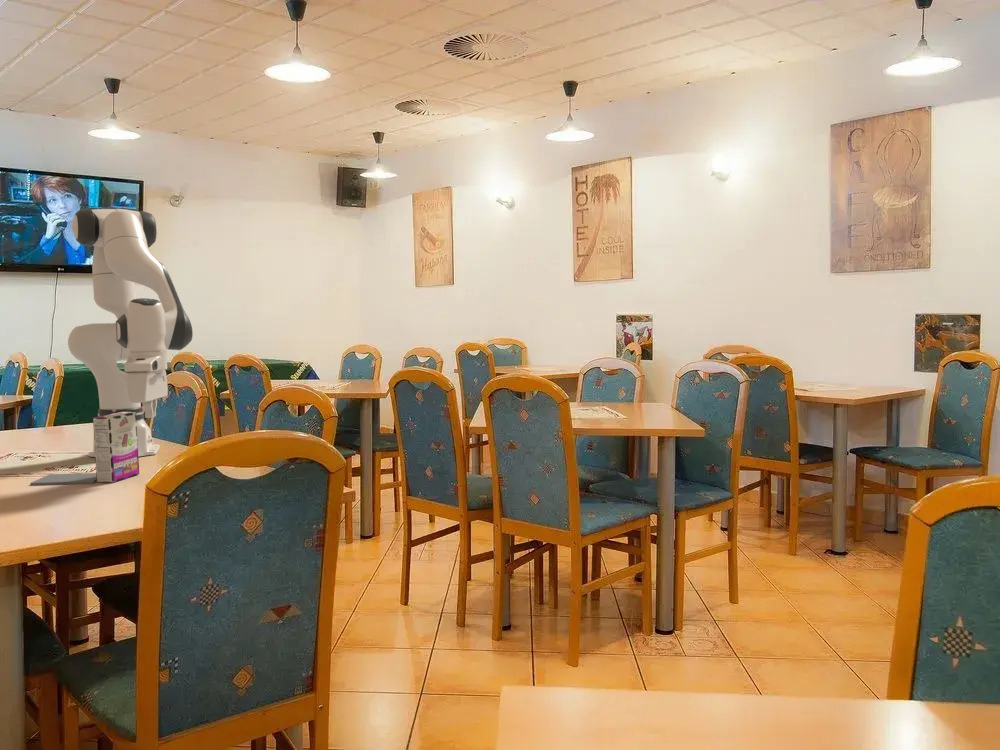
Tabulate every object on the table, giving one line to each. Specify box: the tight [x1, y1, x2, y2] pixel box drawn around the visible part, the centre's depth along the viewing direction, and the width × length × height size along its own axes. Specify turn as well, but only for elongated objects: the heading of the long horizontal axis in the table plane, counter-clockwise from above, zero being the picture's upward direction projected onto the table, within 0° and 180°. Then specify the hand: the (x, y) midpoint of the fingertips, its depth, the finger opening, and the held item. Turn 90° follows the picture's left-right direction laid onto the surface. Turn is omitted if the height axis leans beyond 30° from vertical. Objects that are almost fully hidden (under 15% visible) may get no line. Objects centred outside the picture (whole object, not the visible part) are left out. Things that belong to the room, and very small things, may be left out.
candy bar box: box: [92, 412, 140, 484], centre depth 207 cm, size 11×5×16 cm, turn 171°
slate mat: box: [30, 472, 98, 486], centre depth 207 cm, size 11×14×1 cm
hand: (150, 417), depth 207 cm, fingers closed
